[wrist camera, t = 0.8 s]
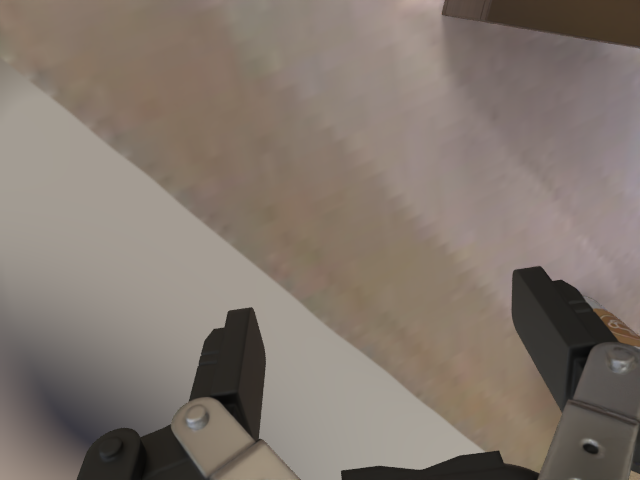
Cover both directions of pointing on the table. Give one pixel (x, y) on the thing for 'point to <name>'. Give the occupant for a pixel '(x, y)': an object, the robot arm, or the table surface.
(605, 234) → the table surface
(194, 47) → the table surface
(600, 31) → the cabinet
